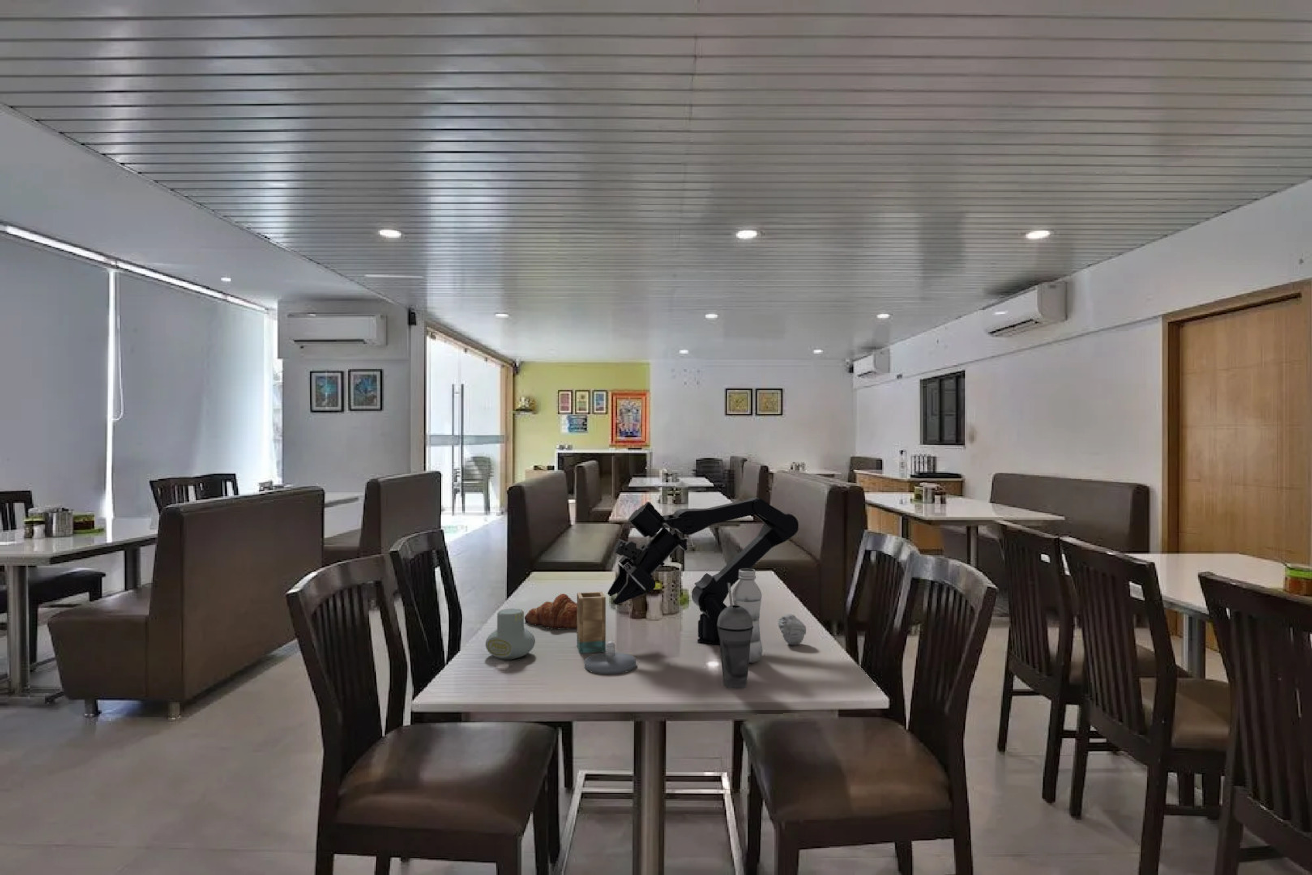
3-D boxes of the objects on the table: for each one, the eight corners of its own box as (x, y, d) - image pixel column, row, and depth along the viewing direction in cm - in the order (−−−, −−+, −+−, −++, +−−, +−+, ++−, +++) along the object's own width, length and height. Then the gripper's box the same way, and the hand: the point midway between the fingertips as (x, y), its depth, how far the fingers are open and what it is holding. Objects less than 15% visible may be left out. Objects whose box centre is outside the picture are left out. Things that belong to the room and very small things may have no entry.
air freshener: (541, 653, 153) (541, 609, 153) (519, 664, 145) (519, 618, 146) (502, 647, 157) (502, 605, 158) (479, 657, 150) (479, 613, 150)
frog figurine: (787, 638, 165) (787, 610, 165) (812, 644, 160) (812, 615, 160) (772, 643, 160) (772, 614, 160) (797, 650, 155) (797, 619, 155)
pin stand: (644, 661, 147) (644, 637, 147) (621, 677, 137) (621, 651, 137) (600, 655, 151) (600, 632, 152) (575, 669, 141) (575, 645, 142)
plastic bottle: (744, 668, 143) (743, 573, 143) (726, 659, 149) (726, 568, 149) (768, 663, 146) (768, 571, 146) (750, 655, 152) (750, 566, 152)
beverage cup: (752, 692, 128) (752, 587, 129) (714, 689, 130) (714, 586, 130) (754, 679, 135) (754, 580, 136) (718, 677, 137) (718, 579, 137)
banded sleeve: (602, 644, 160) (602, 591, 160) (605, 651, 154) (605, 597, 154) (576, 645, 159) (577, 592, 159) (579, 653, 153) (579, 598, 153)
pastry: (580, 614, 190) (580, 586, 190) (605, 627, 177) (605, 596, 177) (523, 622, 181) (523, 592, 181) (544, 636, 168) (545, 604, 168)
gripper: (627, 523, 168) (583, 568, 166) (641, 532, 150) (592, 583, 148) (657, 553, 170) (614, 599, 167) (675, 566, 152) (627, 617, 149)
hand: (611, 599), depth 158 cm, fingers open, 9 cm apart
